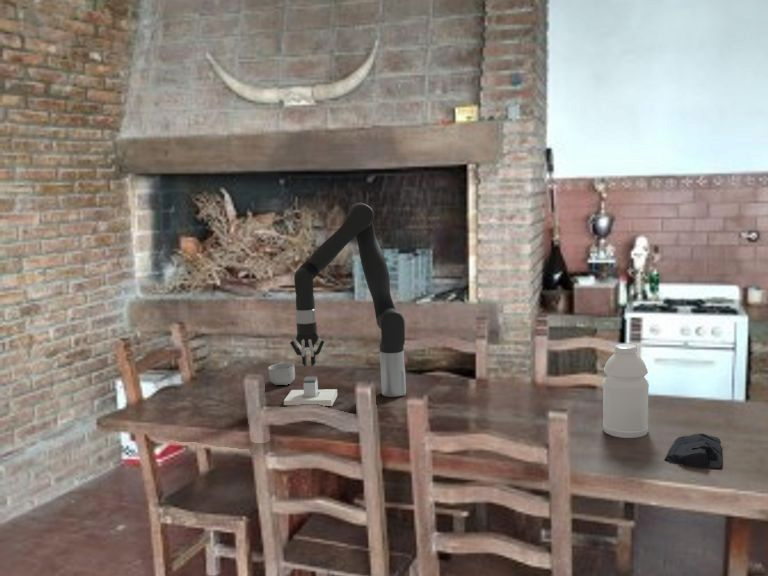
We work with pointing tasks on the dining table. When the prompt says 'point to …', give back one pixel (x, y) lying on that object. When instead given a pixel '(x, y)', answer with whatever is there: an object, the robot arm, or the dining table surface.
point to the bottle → (625, 394)
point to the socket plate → (324, 398)
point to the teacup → (282, 373)
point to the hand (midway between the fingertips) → (309, 365)
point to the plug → (310, 387)
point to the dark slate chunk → (696, 451)
